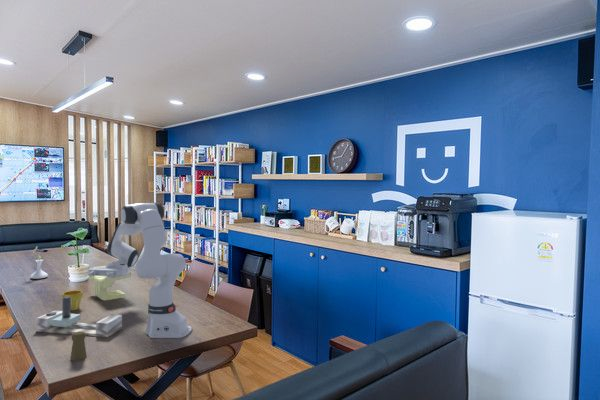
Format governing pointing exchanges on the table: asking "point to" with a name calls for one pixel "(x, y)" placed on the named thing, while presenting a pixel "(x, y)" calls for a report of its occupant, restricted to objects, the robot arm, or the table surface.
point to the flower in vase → (38, 268)
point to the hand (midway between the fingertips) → (98, 274)
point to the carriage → (66, 315)
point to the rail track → (72, 330)
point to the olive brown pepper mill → (78, 346)
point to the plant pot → (74, 298)
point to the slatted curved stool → (106, 286)
